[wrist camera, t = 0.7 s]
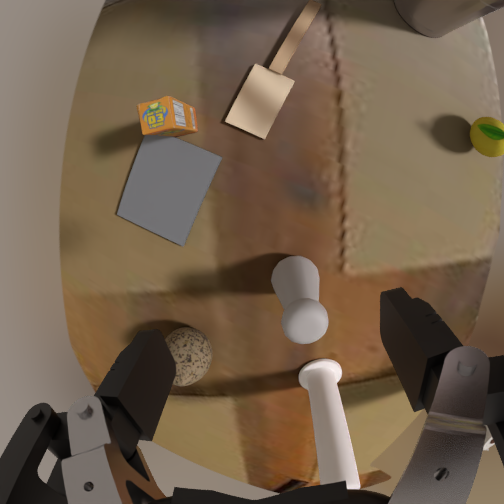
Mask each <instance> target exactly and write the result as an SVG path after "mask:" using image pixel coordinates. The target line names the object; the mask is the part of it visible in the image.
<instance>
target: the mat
mask: <svg viewBox="0 0 504 504" xmlns="http://www.w3.org/2000/svg"><path fill="white" fill-rule="evenodd" d="M221 160H222V157H221V156H218V155H216V154H214V153H211V152H209V151H207V150H204V149H202V148H200V147H197V146H195V145H193V144H190V143H188V142H185V141H183V140H181V139H178V138H176V137H173V136H159V135H145V136H144V139H143V141H142V143H141V146H140V149H139V151H138V154H137V156H136V159H135V162H134V164H133V167H132V170H131V173H130V176H129V178H128V181H127V184H126V187H125V190H124V193H123V196H122V200H121V203H120V206H119V209H118V213H117V215H119V216H121V217H123V218H125V219H127V220H129V221H131V222H133V223H135V224H137V225H139V226H141V227H143V228H145V229H147V230H149V231H152V232H154V233H156V234H158V235H160V236H162V237H164V238H166V239H168V240H170V241H172V242H175V243H177V244H179V245H181V246H184V245H185V242H186V240H187V237H188V235H189V232H190V230H191V227H192V225H193V223H194V220H195V218H196V216H197V213H198V211H199V209H200V206H201V204H202V202H203V199H204V197H205V195H206V193H207V190H208V188H209V186H210V184H211V181H212V179H213V177H214V175H215V173H216V170H217V168H218V166H219V164H220V162H221Z"/></svg>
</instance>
